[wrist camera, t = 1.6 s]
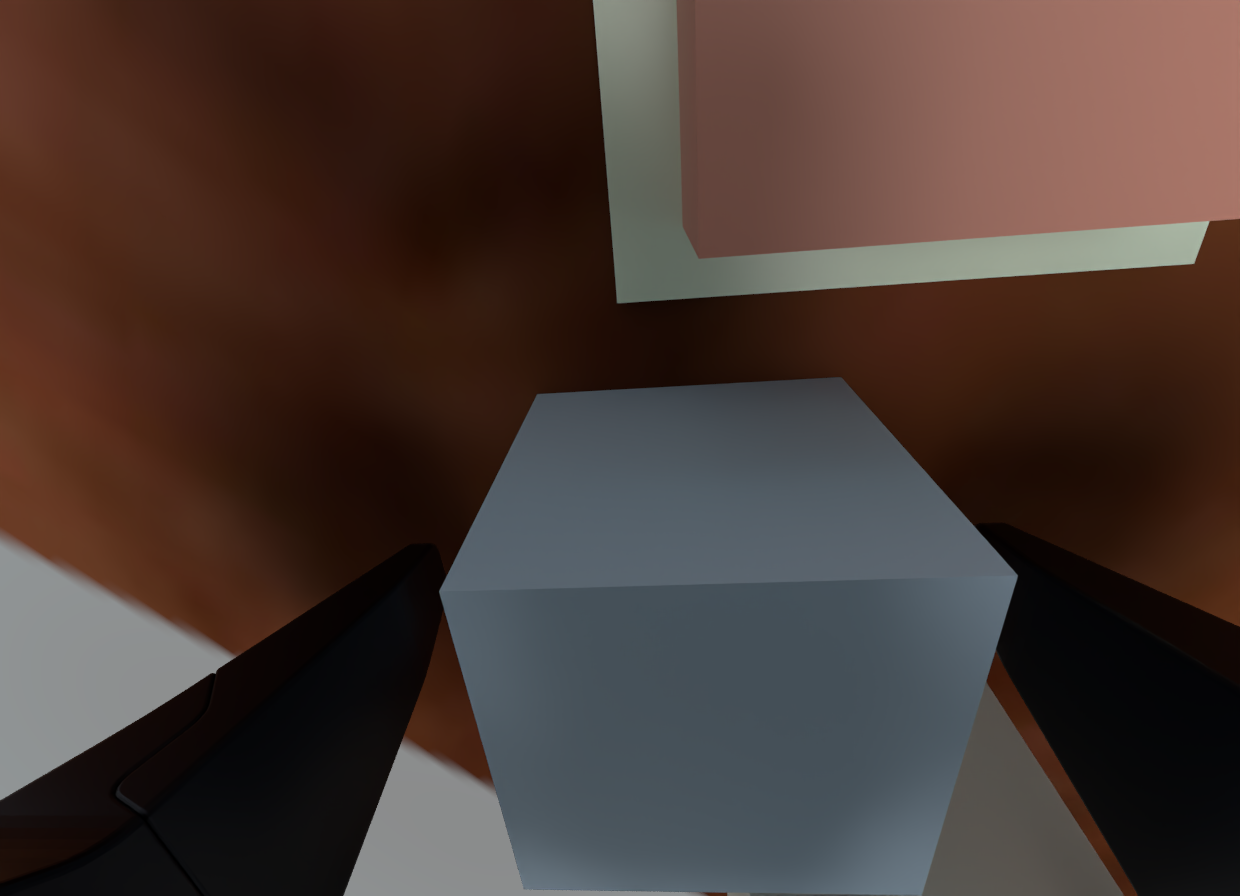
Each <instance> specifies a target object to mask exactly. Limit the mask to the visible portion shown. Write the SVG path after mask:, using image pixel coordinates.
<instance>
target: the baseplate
mask: <svg viewBox="0 0 1240 896" xmlns="http://www.w3.org/2000/svg"><path fill="white" fill-rule="evenodd" d="M593 7H594V19H595V32H596V44H597V57H598V69H599V82H600V94H601V107H602V119H603V132H604V144H605V157H606V169H607V182H608V194H609V207H610V219H611V232H612V244H613V257H614V269H615V281H616V294H617V303H630V302H644V301H659V300H674V299H688V298H703V297H717V296H732V295H746V294H761V293H776V292H790V291H805V290H819V289H834V288H848V287H863V286H878V285H892V284H907V283H921V282H936V281H950V280H965V279H980V278H994V277H1009V276H1023V275H1038V274H1052V273H1067V272H1081V271H1096V270H1111V269H1125V268H1140V267H1154V266H1169V265H1183V264H1194V262H1195V260H1196V257H1197V254H1198V251H1199V249H1200V246H1201V243H1202V241H1203V238H1204V235H1205V232H1206V230H1207V227H1208V224H1209V221H1203V222H1189V223H1176V224H1162V225H1149V226H1135V227H1122V228H1108V229H1095V230H1081V231H1068V232H1054V233H1041V234H1027V235H1014V236H1000V237H987V238H973V239H960V240H946V241H933V242H919V243H906V244H892V245H879V246H865V247H852V248H838V249H825V250H811V251H798V252H784V253H771V254H757V255H744V256H730V257H717V258H703V259H699V258H698V256H697V254H696V252H695V250H694V248H693V246H692V244H691V242H690V240H689V238H688V236H687V234H686V232H685V230H684V228H683V223H682V186H681V149H680V111H679V74H678V37H677V0H593Z"/></svg>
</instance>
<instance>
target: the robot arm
mask: <svg viewBox="0 0 1240 896" xmlns="http://www.w3.org/2000/svg"><path fill="white" fill-rule="evenodd" d="M974 527H975V528H976V529H977V530H978V531H979V532H980V533H981V535H982V536H983V537H984V538H985V539H986V540H987V541H988V542H989V543H990V545H991V546H992V547H993V548H994V549H995V550H996V551H997V552H998V554H999V555H1000V556H1001V557H1002V558H1003V559H1004V560H1005V561H1006V563H1007V564H1008V565H1009V566H1010V567H1011V568H1012V569H1013V570H1014V572H1015V573H1016V574H1017V575H1018V577H1017V581H1016V584H1015V587H1014V590H1013V594H1012V597H1011V600H1010V604H1009V607H1008V610H1007V614H1006V617H1005V620H1004V624H1003V627H1002V630H1001V634H1000V637H999V640H998V644H997V647H996V651H997V653H998V655H999V658H1000V660H1001V662H1002V664H1003V666H1004V667H1005V669H1006V671H1007V673H1008V675H1009V676H1010V678H1011V680H1012V682H1013V683H1014V685H1015V687H1016V689H1017V690H1018V692H1019V694H1020V695H1021V697H1022V699H1023V700H1024V702H1025V704H1026V706H1027V707H1028V709H1029V711H1030V712H1031V714H1032V716H1033V717H1034V719H1035V721H1036V723H1037V724H1038V726H1039V728H1040V729H1041V731H1042V733H1043V734H1044V736H1045V738H1046V740H1047V741H1048V743H1049V745H1050V746H1051V748H1052V750H1053V751H1054V753H1055V755H1056V757H1057V758H1058V760H1059V762H1060V763H1061V765H1062V767H1063V768H1064V770H1065V772H1066V774H1067V775H1068V777H1069V779H1070V780H1071V782H1072V784H1073V785H1074V787H1075V789H1076V791H1077V792H1078V794H1079V796H1080V797H1081V799H1082V801H1083V802H1084V804H1085V806H1086V808H1087V809H1088V811H1089V813H1090V814H1091V816H1092V818H1093V819H1094V821H1095V823H1096V825H1097V826H1098V828H1099V830H1100V831H1101V833H1102V835H1103V836H1104V838H1105V840H1106V842H1107V843H1108V845H1109V847H1110V848H1111V850H1112V852H1113V853H1114V855H1115V857H1116V859H1117V860H1118V862H1119V864H1120V865H1121V867H1122V869H1123V870H1124V872H1125V874H1126V876H1127V877H1128V879H1129V881H1130V882H1131V884H1132V886H1133V887H1134V889H1135V891H1136V893H1137V894H1138V896H1240V627H1239V626H1237V625H1234V624H1232V623H1230V622H1228V621H1225V620H1223V619H1221V618H1219V617H1216V616H1214V615H1212V614H1209V613H1207V612H1205V611H1203V610H1200V609H1198V608H1196V607H1194V606H1191V605H1189V604H1187V603H1185V602H1182V601H1180V600H1178V599H1176V598H1173V597H1171V596H1169V595H1167V594H1164V593H1162V592H1160V591H1157V590H1155V589H1153V588H1151V587H1148V586H1146V585H1144V584H1142V583H1139V582H1137V581H1135V580H1133V579H1130V578H1128V577H1126V576H1124V575H1121V574H1119V573H1117V572H1115V571H1112V570H1110V569H1108V568H1106V567H1103V566H1101V565H1099V564H1096V563H1094V562H1092V561H1090V560H1087V559H1085V558H1083V557H1081V556H1078V555H1076V554H1074V553H1072V552H1069V551H1067V550H1065V549H1063V548H1060V547H1058V546H1056V545H1054V544H1051V543H1049V542H1047V541H1045V540H1042V539H1040V538H1038V537H1035V536H1033V535H1031V534H1029V533H1026V532H1024V531H1022V530H1020V529H1017V528H1015V527H1013V526H1011V525H1008V524H1006V523H979V524H976V525H975V526H974ZM445 579H446V575H445V572H444V568H443V564H442V561H441V557H440V554H439V550H438V548H437V547H436V545H434V544H432V543H423V544H411V545H409V546H407V547H405V548H404V549H402V550H401V551H399V552H398V553H396V554H395V555H393V556H392V557H390V558H388V559H387V560H385V561H384V562H382V563H381V564H379V565H378V566H376V567H375V568H373V569H371V570H370V571H368V572H367V573H365V574H364V575H362V576H361V577H359V578H358V579H356V580H355V581H353V582H351V583H350V584H348V585H347V586H345V587H344V588H342V589H341V590H339V591H338V592H336V593H334V594H333V595H331V596H330V597H328V598H327V599H325V600H324V601H322V602H321V603H319V604H318V605H316V606H314V607H313V608H311V609H310V610H308V611H307V612H305V613H304V614H302V615H301V616H299V617H298V618H296V619H294V620H293V621H291V622H290V623H288V624H287V625H285V626H284V627H282V628H281V629H279V630H277V631H276V632H274V633H273V634H271V635H270V636H268V637H267V638H265V639H264V640H262V641H261V642H259V643H257V644H256V645H254V646H253V647H251V648H250V649H248V650H247V651H245V652H244V653H242V654H241V655H239V656H237V657H236V658H234V659H233V660H231V661H230V662H228V663H227V664H225V665H224V666H222V667H220V668H219V669H218V670H217V671H216V674H214V673H211V674H209V675H208V676H206V677H205V678H204V679H202V680H200V681H199V682H197V683H196V684H194V685H193V686H191V687H190V688H188V689H187V690H185V691H184V692H182V693H180V694H179V695H177V696H175V697H174V698H172V699H171V700H169V701H168V702H166V703H165V704H163V705H161V706H160V707H158V708H157V709H155V710H153V711H152V712H150V713H148V714H147V715H145V716H144V717H142V718H140V719H139V720H137V721H135V722H134V723H132V724H130V725H128V726H127V727H125V728H124V729H122V730H120V731H118V732H117V733H115V734H113V735H112V736H110V737H108V738H107V739H105V740H103V741H102V742H100V743H98V744H96V745H95V746H93V747H91V748H90V749H88V750H86V751H84V752H83V753H81V754H80V755H78V756H76V757H74V758H72V759H71V760H69V761H67V762H66V763H64V764H62V765H60V766H59V767H57V768H55V769H53V770H52V771H50V772H48V773H47V774H45V775H43V776H42V777H40V778H38V779H36V780H35V781H33V782H31V783H29V784H28V785H26V786H24V787H23V788H21V789H19V790H18V791H16V792H14V793H12V794H10V795H9V796H7V797H5V798H4V799H2V800H0V896H343V895H344V893H345V890H346V887H347V885H348V882H349V879H350V877H351V874H352V872H353V869H354V866H355V864H356V861H357V858H358V856H359V853H360V850H361V848H362V845H363V842H364V839H365V837H366V834H367V832H368V829H369V826H370V824H371V821H372V819H373V816H374V813H375V811H376V808H377V805H378V803H379V800H380V797H381V795H382V792H383V789H384V787H385V784H386V781H387V778H388V776H389V773H390V771H391V768H392V765H393V763H394V760H395V757H396V755H397V752H398V749H399V747H400V744H401V742H402V739H403V736H404V734H405V731H406V728H407V726H408V723H409V720H410V718H411V715H412V712H413V710H414V707H415V704H416V702H417V699H418V696H419V694H420V691H421V688H422V686H423V683H424V680H425V677H426V674H427V670H428V667H429V663H430V660H431V656H432V652H433V648H434V644H435V640H436V636H437V632H438V628H439V624H440V620H441V616H442V612H443V608H444V607H443V604H442V600H441V597H440V593H439V591H440V589H441V587H442V585H443V583H444V581H445Z"/></svg>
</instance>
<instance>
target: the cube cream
mask: <svg viewBox="0 0 1240 896" xmlns="http://www.w3.org/2000/svg"><path fill="white" fill-rule="evenodd" d="M727 894H728V896H1124V895H1123V893H1122V892H1121V890H1120V889H1119V887H1118V885H1117V884H1116V882H1115V881H1114V879H1113V878H1112V876H1111V875H1110V873H1109V872H1108V870H1107V868H1106V867H1105V865H1104V864H1103V862H1102V861H1101V859H1100V858H1099V856H1098V854H1097V853H1096V851H1095V850H1094V848H1093V847H1092V845H1091V844H1090V842H1089V841H1088V839H1087V837H1086V836H1085V834H1084V833H1083V831H1082V830H1081V828H1080V827H1079V825H1078V823H1077V822H1076V820H1075V819H1074V817H1073V816H1072V814H1071V813H1070V811H1069V810H1068V808H1067V806H1066V805H1065V803H1064V802H1063V800H1062V799H1061V797H1060V796H1059V794H1058V792H1057V791H1056V789H1055V788H1054V786H1053V785H1052V783H1051V782H1050V780H1049V779H1048V777H1047V775H1046V774H1045V772H1044V771H1043V769H1042V768H1041V766H1040V765H1039V763H1038V762H1037V760H1036V758H1035V757H1034V755H1033V754H1032V752H1031V751H1030V749H1029V748H1028V746H1027V744H1026V743H1025V741H1024V740H1023V738H1022V737H1021V735H1020V734H1019V732H1018V731H1017V729H1016V727H1015V726H1014V724H1013V723H1012V721H1011V720H1010V718H1009V717H1008V715H1007V713H1006V712H1005V710H1004V709H1003V707H1002V706H1001V704H1000V703H999V701H998V700H997V698H996V696H995V695H994V693H993V692H992V690H991V689H990V687H989V686H988V684H987V682H986V683H985V687H984V690H983V693H982V697H981V700H980V703H979V707H978V710H977V713H976V717H975V720H974V723H973V727H972V730H971V733H970V737H969V740H968V743H967V747H966V750H965V753H964V757H963V760H962V763H961V766H960V770H959V773H958V776H957V780H956V783H955V786H954V790H953V793H952V796H951V800H950V803H949V806H948V810H947V813H946V816H945V820H944V823H943V826H942V830H941V833H940V836H939V840H938V843H937V846H936V850H935V853H934V856H933V859H932V863H931V866H930V869H929V873H928V876H927V879H926V883H925V886H924V889H923V893H922V895H858V894H793V893H728V892H727Z"/></svg>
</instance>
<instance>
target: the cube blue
mask: <svg viewBox="0 0 1240 896" xmlns="http://www.w3.org/2000/svg"><path fill="white" fill-rule="evenodd" d="M1017 577H1018V575H1017V574H1016V573H1015V572H1014V570H1013V569H1012V568H1011V567H1010V566H1009V565H1008V564H1007V563H1006V561H1005V560H1004V559H1003V558H1002V557H1001V556H1000V555H999V554H998V552H997V551H996V550H995V549H994V548H993V547H992V546H991V545H990V543H989V542H988V541H987V540H986V539H985V538H984V537H983V536H982V535H981V533H980V532H979V531H978V530H977V529H976V528H975V527H974V526H973V524H972V523H971V522H970V521H969V520H968V519H967V518H966V517H965V515H964V514H963V513H962V512H961V511H960V510H959V509H958V508H957V506H956V505H955V504H954V503H953V502H952V501H951V500H950V499H949V498H948V496H947V495H946V494H945V493H944V492H943V491H942V490H941V489H940V487H939V486H938V485H937V484H936V483H935V482H934V481H933V480H932V478H931V477H930V476H929V475H928V474H927V473H926V472H925V471H924V469H923V468H922V467H921V466H920V465H919V464H918V463H917V462H916V461H915V459H914V458H913V457H912V456H911V455H910V454H909V453H908V452H907V450H906V449H905V448H904V447H903V446H902V445H901V444H900V443H899V441H898V440H897V439H896V438H895V437H894V436H893V435H892V434H891V432H890V431H889V430H888V429H887V428H886V427H885V426H884V425H883V424H882V422H881V421H880V420H879V419H878V418H877V417H876V416H875V415H874V413H873V412H872V411H871V410H870V409H869V408H868V407H867V406H866V404H865V403H864V402H863V401H862V400H861V399H860V398H859V397H858V395H857V394H856V393H855V392H854V391H853V390H852V389H851V388H850V387H849V385H848V384H847V383H846V382H845V381H844V380H843V379H842V378H841V377H834V378H816V379H798V380H780V381H763V382H745V383H727V384H709V385H691V386H674V387H656V388H638V389H620V390H602V391H585V392H567V393H549V394H537V396H536V398H535V400H534V402H533V404H532V406H531V408H530V410H529V412H528V414H527V416H526V418H525V420H524V422H523V424H522V426H521V428H520V430H519V432H518V434H517V436H516V438H515V440H514V442H513V444H512V446H511V448H510V450H509V452H508V454H507V456H506V458H505V460H504V462H503V464H502V466H501V468H500V470H499V472H498V474H497V476H496V478H495V480H494V482H493V484H492V486H491V488H490V490H489V492H488V494H487V496H486V498H485V500H484V502H483V504H482V506H481V508H480V510H479V512H478V514H477V516H476V518H475V520H474V522H473V524H472V526H471V528H470V530H469V532H468V534H467V536H466V538H465V540H464V542H463V544H462V546H461V548H460V550H459V553H458V555H457V557H456V559H455V561H454V563H453V565H452V567H451V569H450V571H449V573H448V575H447V577H446V579H445V581H444V583H443V585H442V587H441V589H440V591H439V593H440V597H441V600H442V604H443V607H444V611H445V614H446V618H447V621H448V625H449V628H450V632H451V635H452V639H453V642H454V646H455V649H456V653H457V656H458V660H459V663H460V667H461V670H462V674H463V677H464V681H465V684H466V688H467V691H468V695H469V698H470V702H471V705H472V709H473V712H474V716H475V719H476V723H477V726H478V730H479V733H480V737H481V740H482V744H483V747H484V751H485V754H486V758H487V761H488V765H489V768H490V772H491V775H492V779H493V782H494V786H495V789H496V793H497V796H498V800H499V803H500V807H501V810H502V814H503V817H504V821H505V824H506V828H507V831H508V835H509V838H510V842H511V845H512V849H513V852H514V856H515V859H516V863H517V867H518V870H519V873H520V877H521V881H522V884H523V887H524V889H533V890H600V891H603V890H604V891H663V892H728V893H793V894H858V895H922V893H923V889H924V886H925V883H926V879H927V876H928V873H929V869H930V866H931V863H932V859H933V856H934V853H935V850H936V846H937V843H938V840H939V836H940V833H941V830H942V826H943V823H944V820H945V816H946V813H947V810H948V806H949V803H950V800H951V796H952V793H953V790H954V786H955V783H956V780H957V776H958V773H959V770H960V766H961V763H962V760H963V757H964V753H965V750H966V747H967V743H968V740H969V737H970V733H971V730H972V727H973V723H974V720H975V717H976V713H977V710H978V707H979V703H980V700H981V697H982V693H983V690H984V687H985V683H986V680H987V677H988V674H989V670H990V667H991V664H992V660H993V657H994V654H995V650H996V647H997V644H998V640H999V637H1000V634H1001V630H1002V627H1003V624H1004V620H1005V617H1006V614H1007V610H1008V607H1009V604H1010V600H1011V597H1012V594H1013V590H1014V587H1015V584H1016V581H1017Z"/></svg>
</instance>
